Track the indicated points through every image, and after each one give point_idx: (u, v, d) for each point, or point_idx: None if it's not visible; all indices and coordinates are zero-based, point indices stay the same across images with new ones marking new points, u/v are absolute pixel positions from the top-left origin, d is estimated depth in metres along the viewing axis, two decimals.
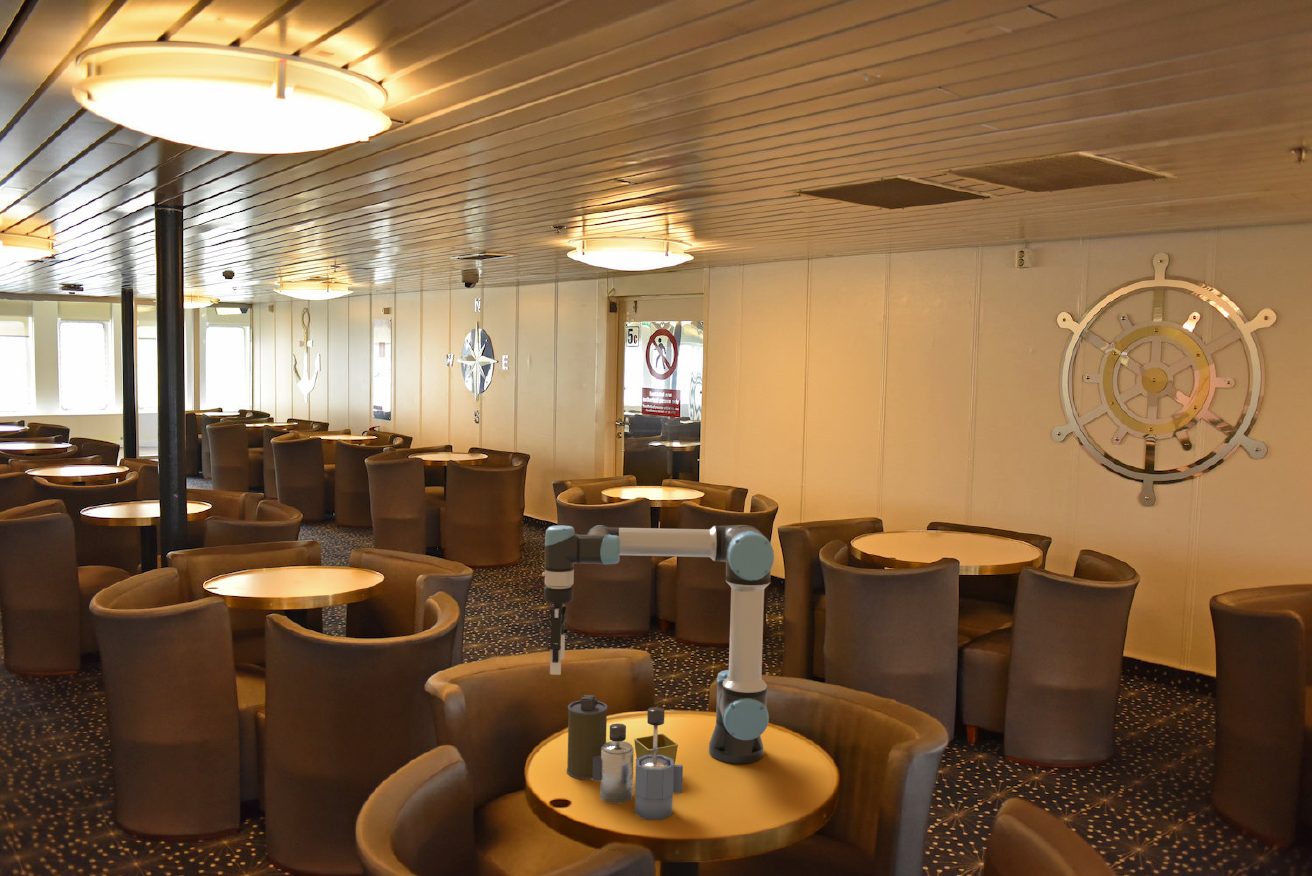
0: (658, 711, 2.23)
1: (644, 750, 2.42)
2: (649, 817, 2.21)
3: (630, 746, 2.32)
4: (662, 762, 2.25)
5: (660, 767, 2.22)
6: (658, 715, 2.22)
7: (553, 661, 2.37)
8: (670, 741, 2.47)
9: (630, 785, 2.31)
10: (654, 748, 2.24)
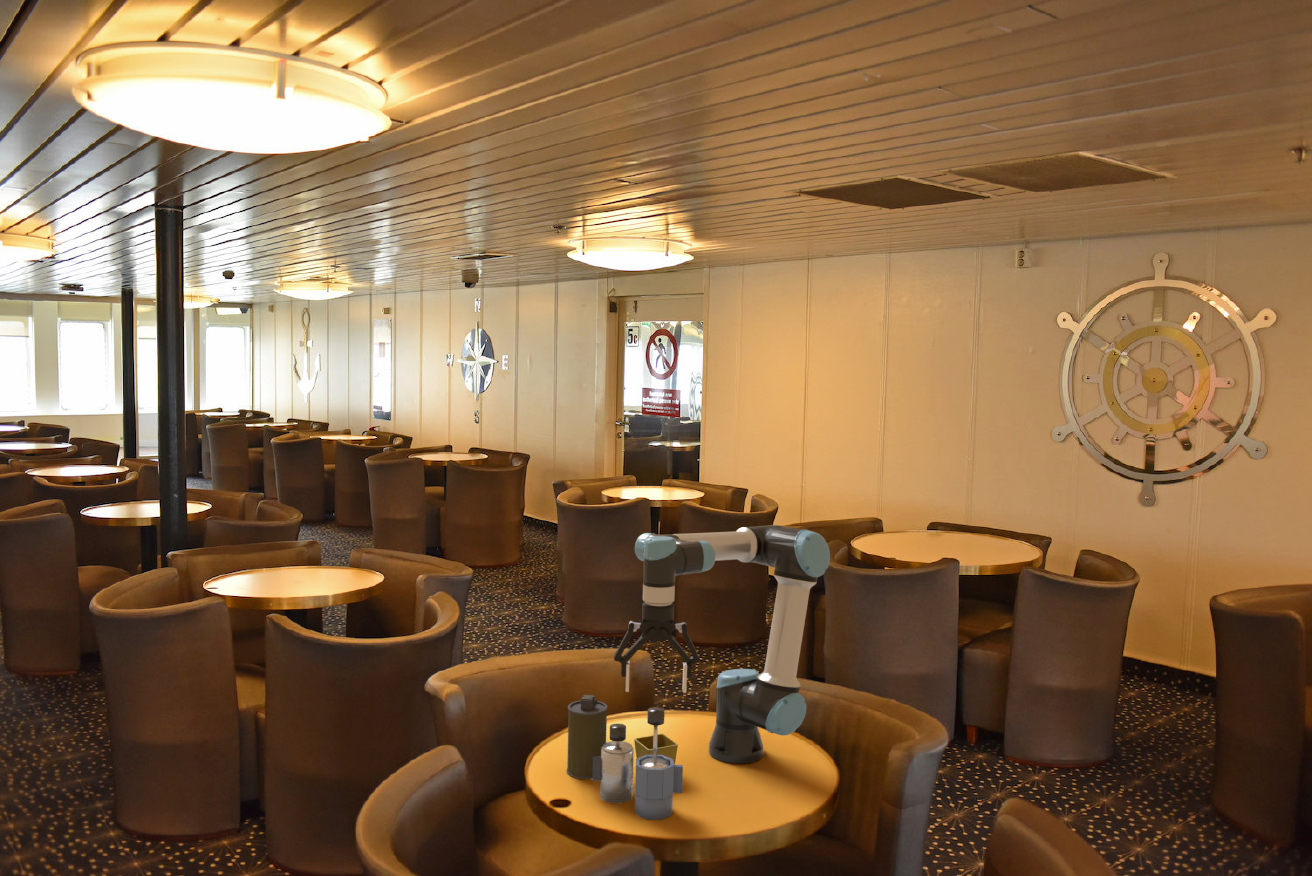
0: (658, 711, 2.23)
1: (644, 750, 2.42)
2: (649, 817, 2.21)
3: (630, 746, 2.32)
4: (662, 762, 2.25)
5: (660, 767, 2.22)
6: (658, 715, 2.22)
7: None
8: (670, 741, 2.47)
9: (630, 785, 2.31)
10: (654, 748, 2.24)
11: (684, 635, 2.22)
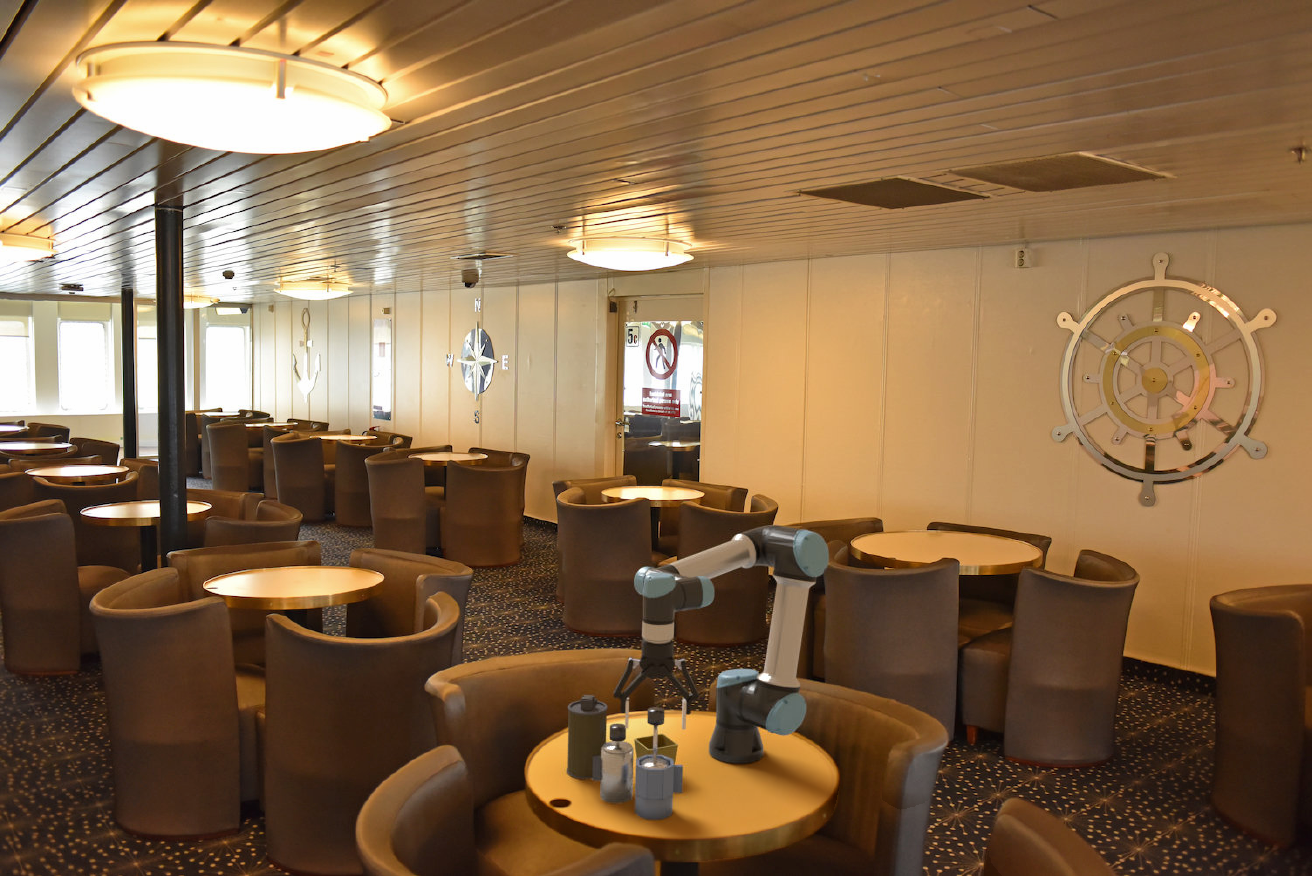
0: (658, 711, 2.23)
1: (644, 750, 2.42)
2: (649, 817, 2.21)
3: (630, 746, 2.32)
4: (662, 762, 2.25)
5: (660, 767, 2.22)
6: (658, 715, 2.22)
7: None
8: (670, 741, 2.47)
9: (630, 785, 2.31)
10: (654, 748, 2.24)
11: (683, 672, 2.22)
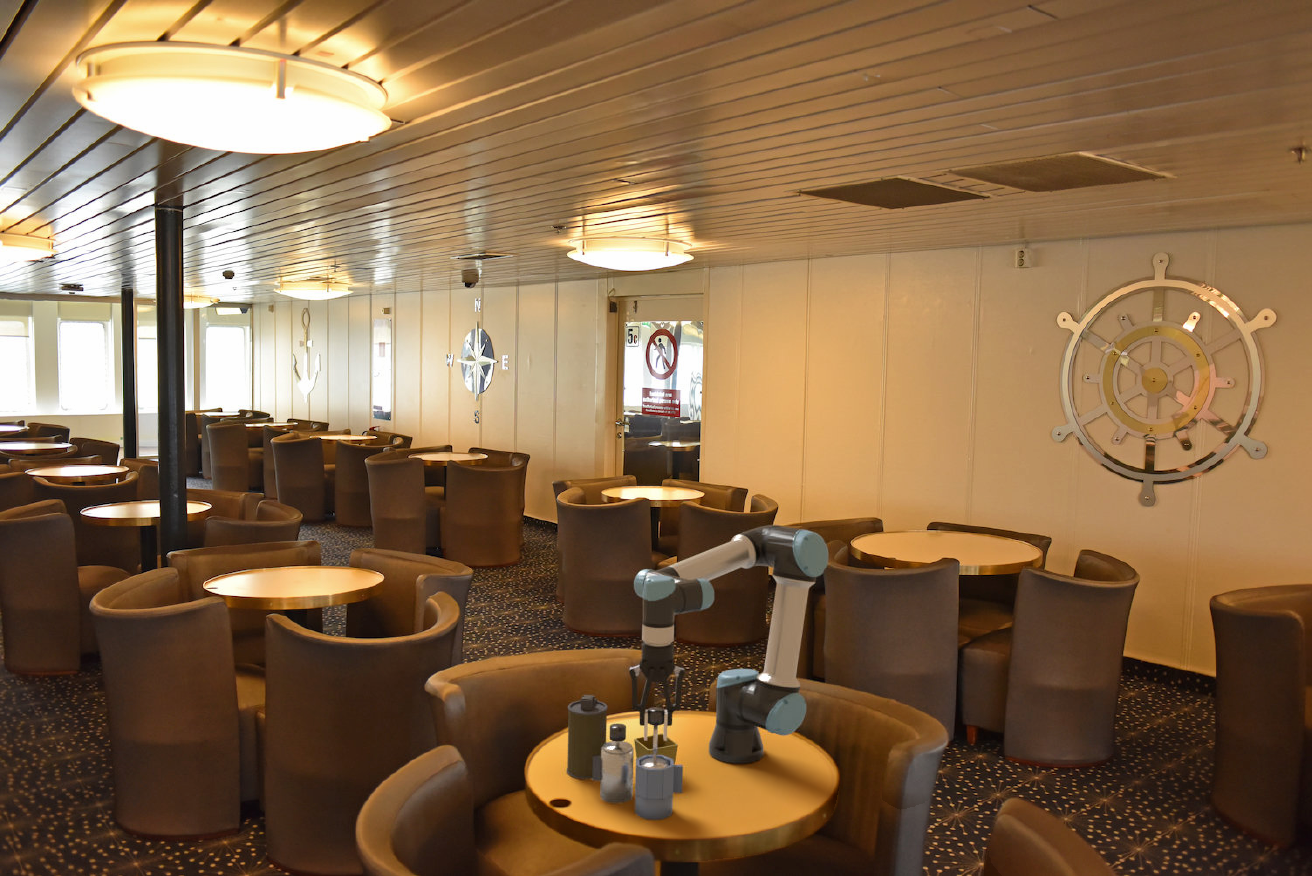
0: (658, 711, 2.23)
1: (644, 750, 2.42)
2: (649, 817, 2.21)
3: (630, 746, 2.32)
4: (662, 762, 2.25)
5: (660, 767, 2.22)
6: (658, 716, 2.22)
7: None
8: (670, 741, 2.47)
9: (630, 785, 2.31)
10: (654, 748, 2.24)
11: (678, 680, 2.23)
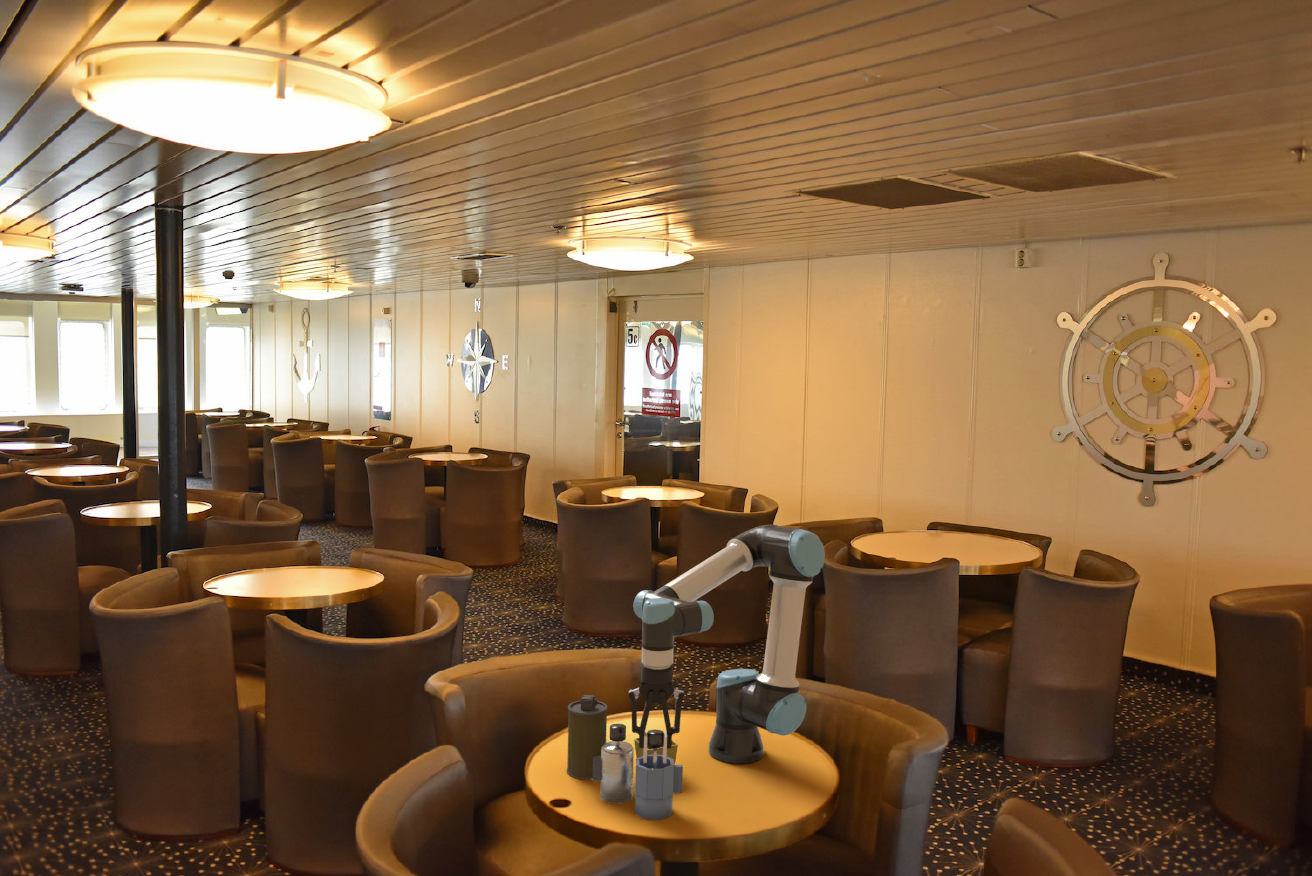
0: (657, 734, 2.23)
1: None
2: (649, 817, 2.21)
3: (630, 746, 2.32)
4: None
5: None
6: (658, 738, 2.22)
7: None
8: None
9: (630, 785, 2.31)
10: None
11: (677, 703, 2.23)
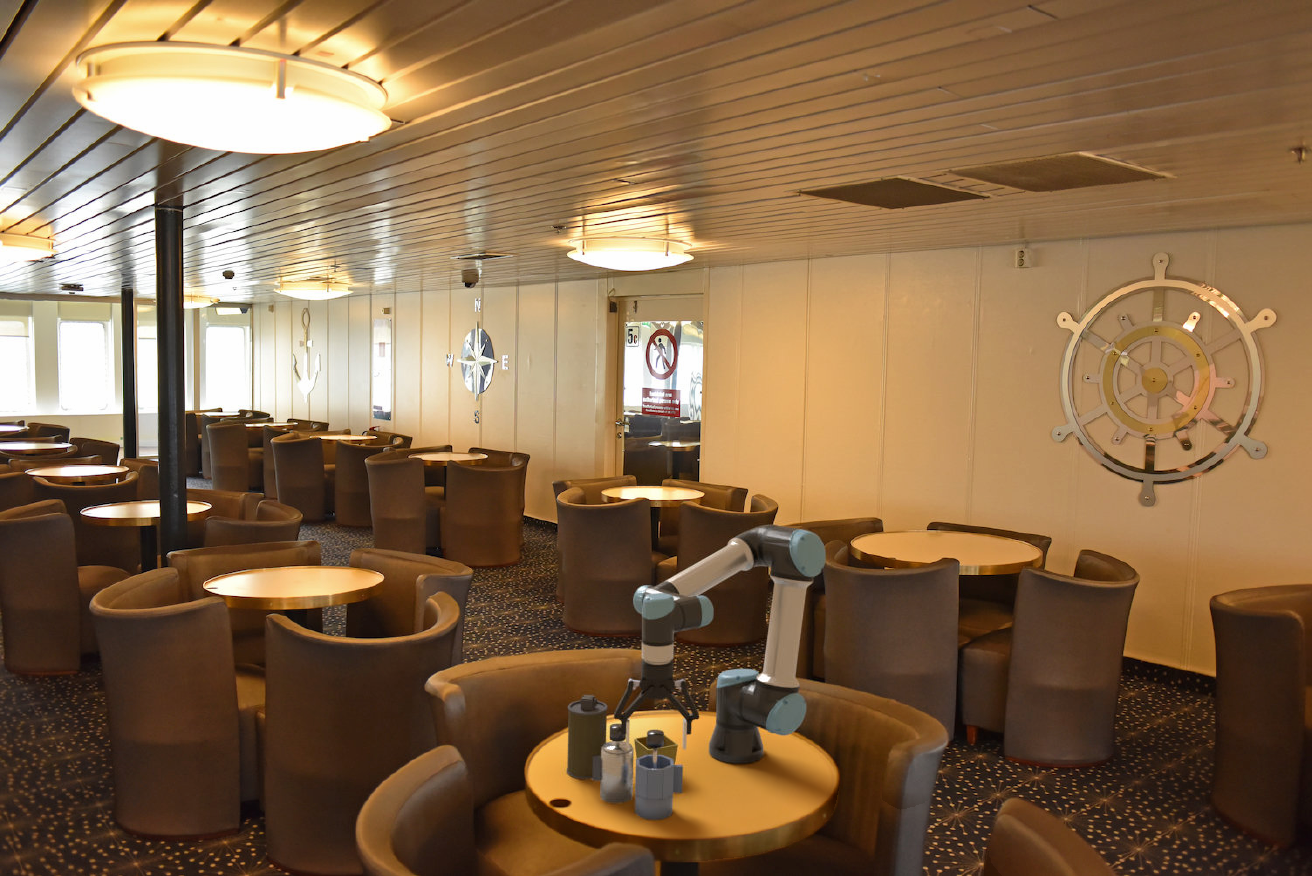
0: (657, 734, 2.23)
1: (644, 750, 2.42)
2: (649, 817, 2.21)
3: (630, 746, 2.32)
4: None
5: None
6: (658, 738, 2.22)
7: None
8: (670, 741, 2.47)
9: (630, 785, 2.31)
10: None
11: (683, 692, 2.23)
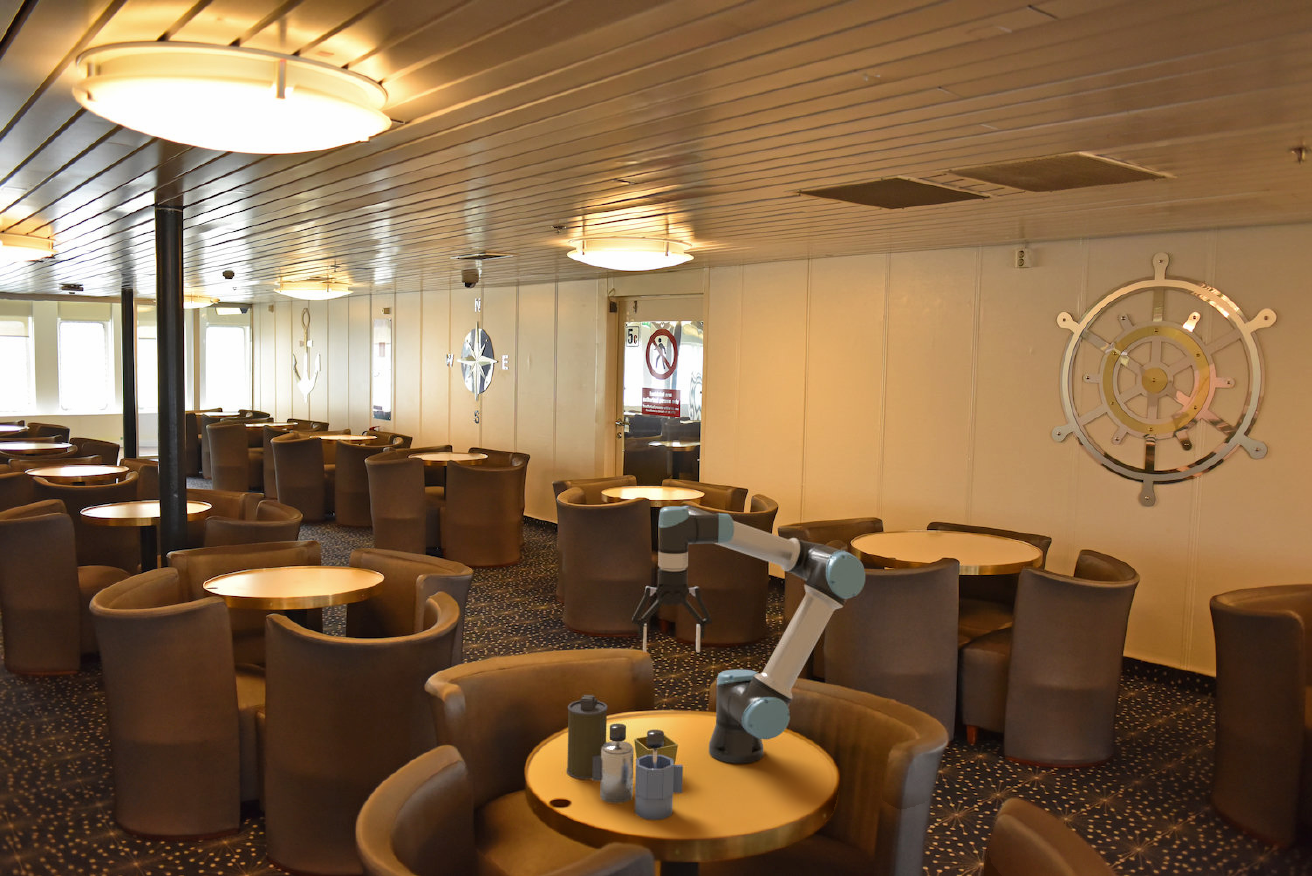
0: (657, 734, 2.23)
1: (644, 750, 2.42)
2: (649, 817, 2.21)
3: (630, 746, 2.32)
4: None
5: None
6: (658, 738, 2.22)
7: None
8: (670, 741, 2.47)
9: (630, 785, 2.31)
10: None
11: (697, 598, 2.37)
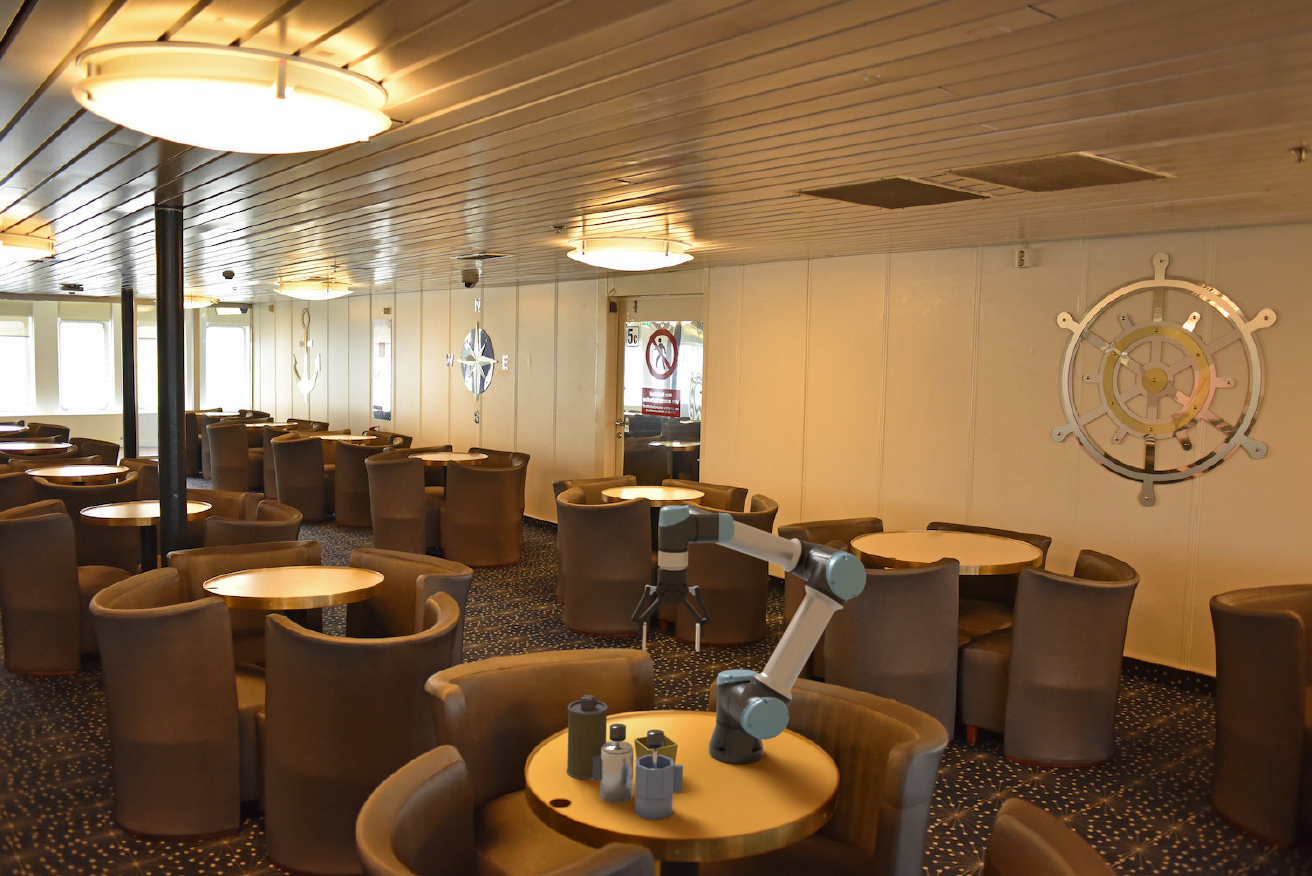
0: (657, 734, 2.23)
1: (644, 750, 2.42)
2: (649, 817, 2.21)
3: (630, 746, 2.32)
4: None
5: None
6: (658, 738, 2.22)
7: None
8: (670, 741, 2.47)
9: (630, 785, 2.31)
10: None
11: (697, 597, 2.38)
